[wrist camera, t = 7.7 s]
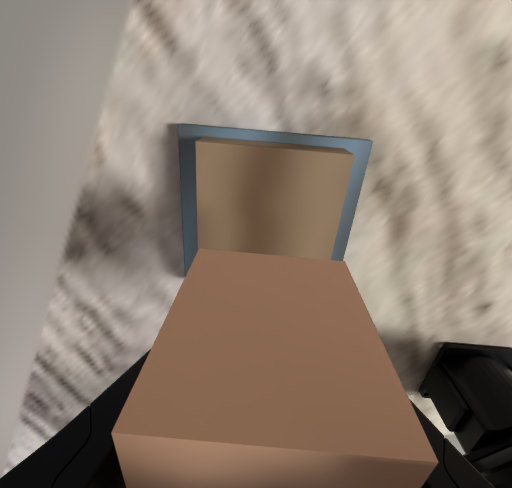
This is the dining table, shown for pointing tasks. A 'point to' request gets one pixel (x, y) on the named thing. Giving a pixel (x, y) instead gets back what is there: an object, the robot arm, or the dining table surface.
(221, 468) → the terracotta cube
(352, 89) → the dining table surface
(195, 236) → the foundation block
